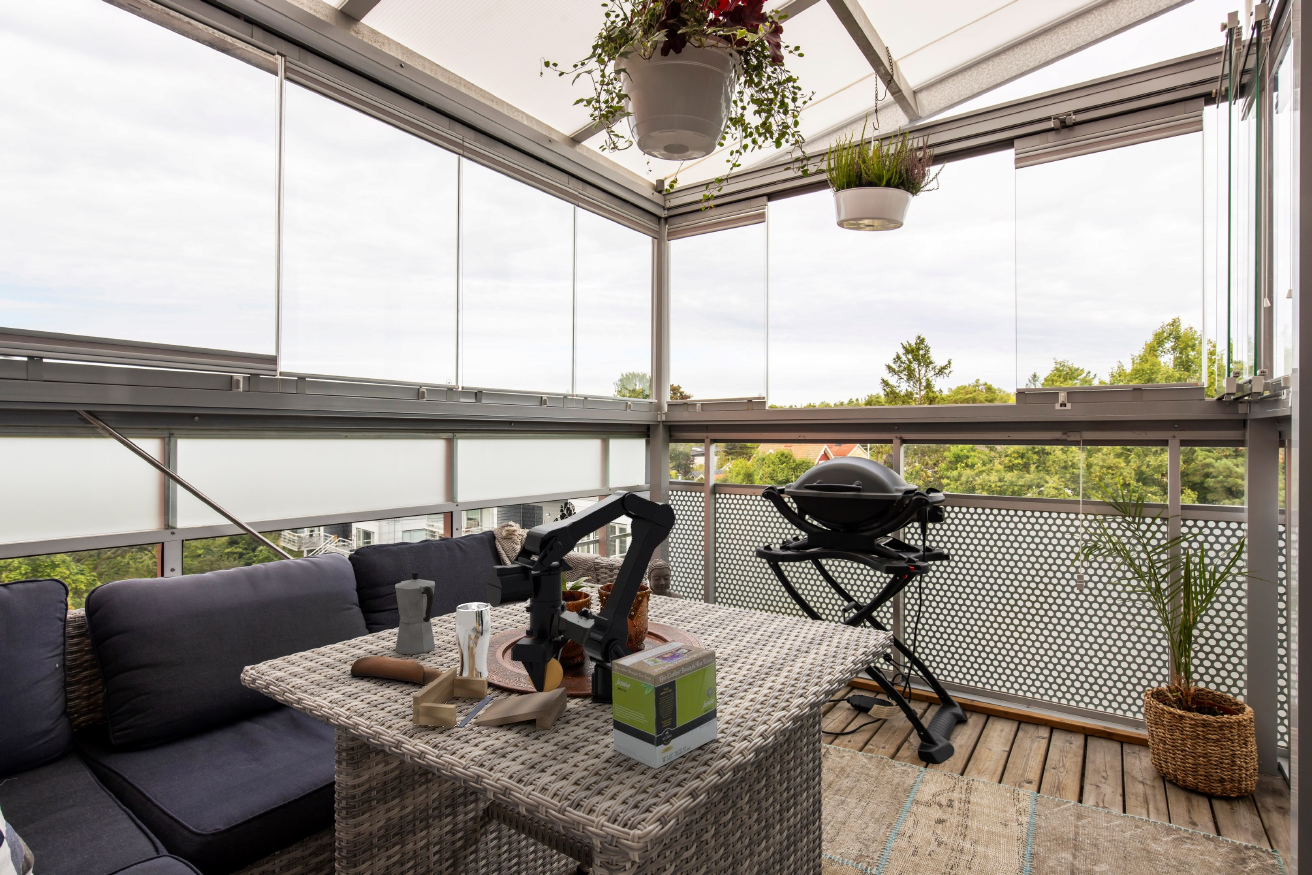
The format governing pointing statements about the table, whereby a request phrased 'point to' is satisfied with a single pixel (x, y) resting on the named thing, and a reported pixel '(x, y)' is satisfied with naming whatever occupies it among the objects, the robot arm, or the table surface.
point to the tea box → (664, 702)
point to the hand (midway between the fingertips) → (545, 685)
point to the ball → (552, 676)
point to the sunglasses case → (395, 669)
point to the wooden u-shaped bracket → (447, 699)
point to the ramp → (527, 709)
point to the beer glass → (473, 638)
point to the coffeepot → (415, 615)
